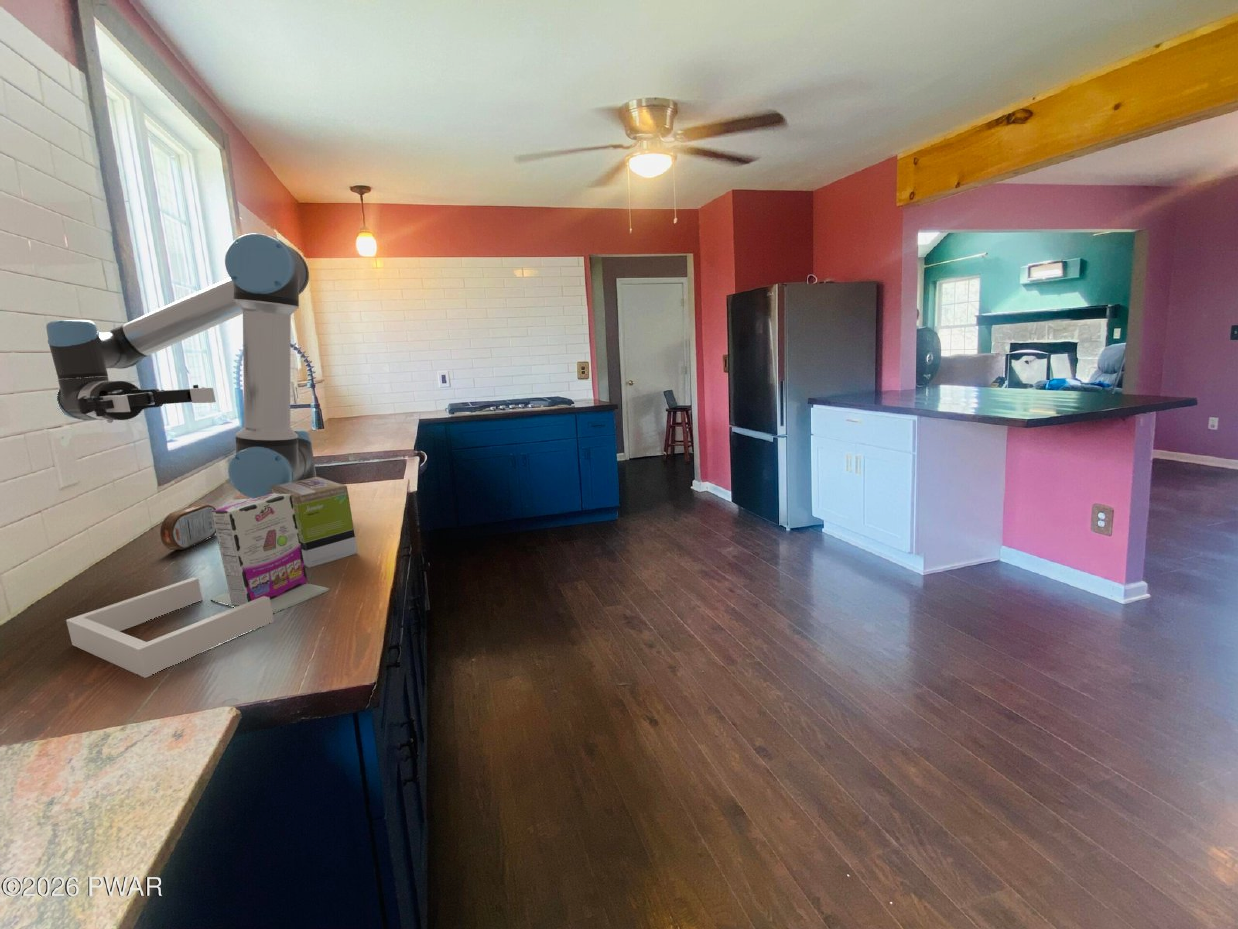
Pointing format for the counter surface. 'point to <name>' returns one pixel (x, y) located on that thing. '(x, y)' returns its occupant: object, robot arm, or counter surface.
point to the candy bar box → (260, 547)
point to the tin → (187, 527)
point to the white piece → (147, 658)
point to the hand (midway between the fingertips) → (171, 399)
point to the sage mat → (284, 596)
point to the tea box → (321, 519)
